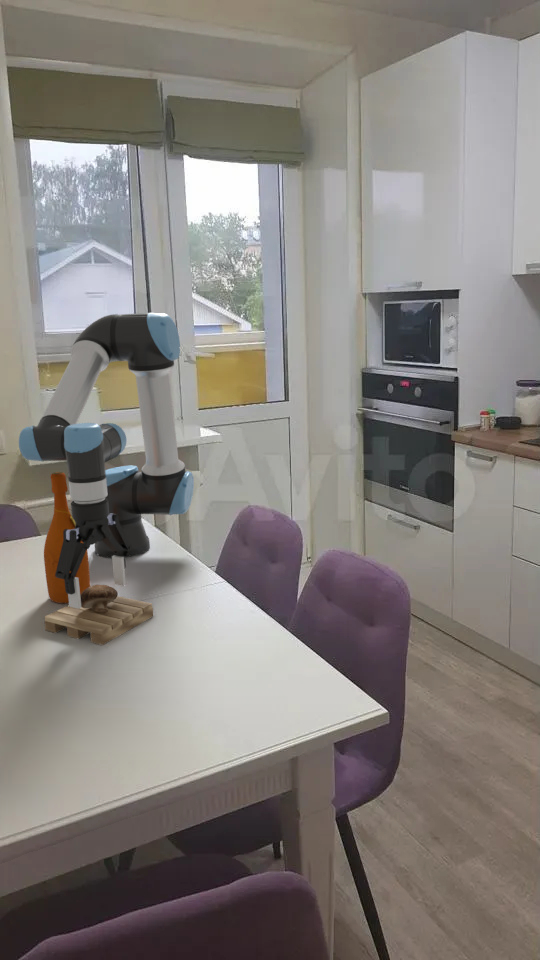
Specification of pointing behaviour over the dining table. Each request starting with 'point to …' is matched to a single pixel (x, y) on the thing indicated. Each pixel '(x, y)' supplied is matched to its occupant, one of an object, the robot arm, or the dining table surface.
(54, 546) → the wine bottle
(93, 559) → the dining table surface
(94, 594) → the mushroom
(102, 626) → the pallet
